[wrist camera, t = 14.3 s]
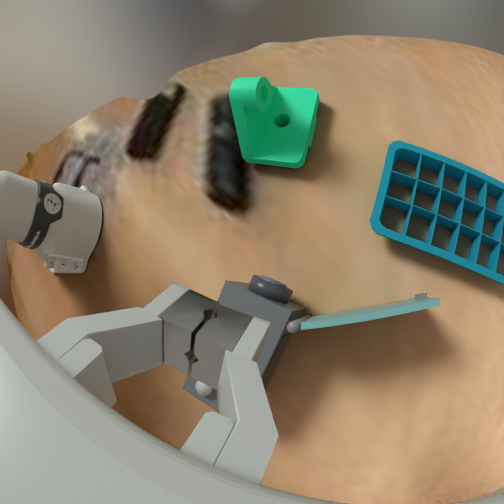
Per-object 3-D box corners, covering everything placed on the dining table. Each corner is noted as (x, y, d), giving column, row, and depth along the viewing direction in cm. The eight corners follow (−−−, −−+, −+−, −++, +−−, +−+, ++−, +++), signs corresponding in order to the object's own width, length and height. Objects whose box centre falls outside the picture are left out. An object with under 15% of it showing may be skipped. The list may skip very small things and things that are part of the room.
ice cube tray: (388, 150, 29) (390, 137, 26) (517, 204, 21) (527, 196, 19) (366, 236, 29) (367, 229, 26) (505, 290, 21) (516, 290, 18)
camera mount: (304, 173, 33) (282, 128, 23) (249, 165, 36) (213, 125, 26) (321, 100, 33) (306, 48, 24) (272, 97, 36) (246, 51, 27)
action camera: (257, 270, 33) (229, 263, 26) (311, 294, 30) (298, 294, 23) (213, 373, 33) (179, 389, 26) (260, 401, 30) (234, 425, 23)
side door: (304, 323, 30) (287, 333, 22) (303, 312, 30) (285, 318, 22) (418, 304, 25) (440, 307, 18) (417, 292, 25) (439, 292, 18)
